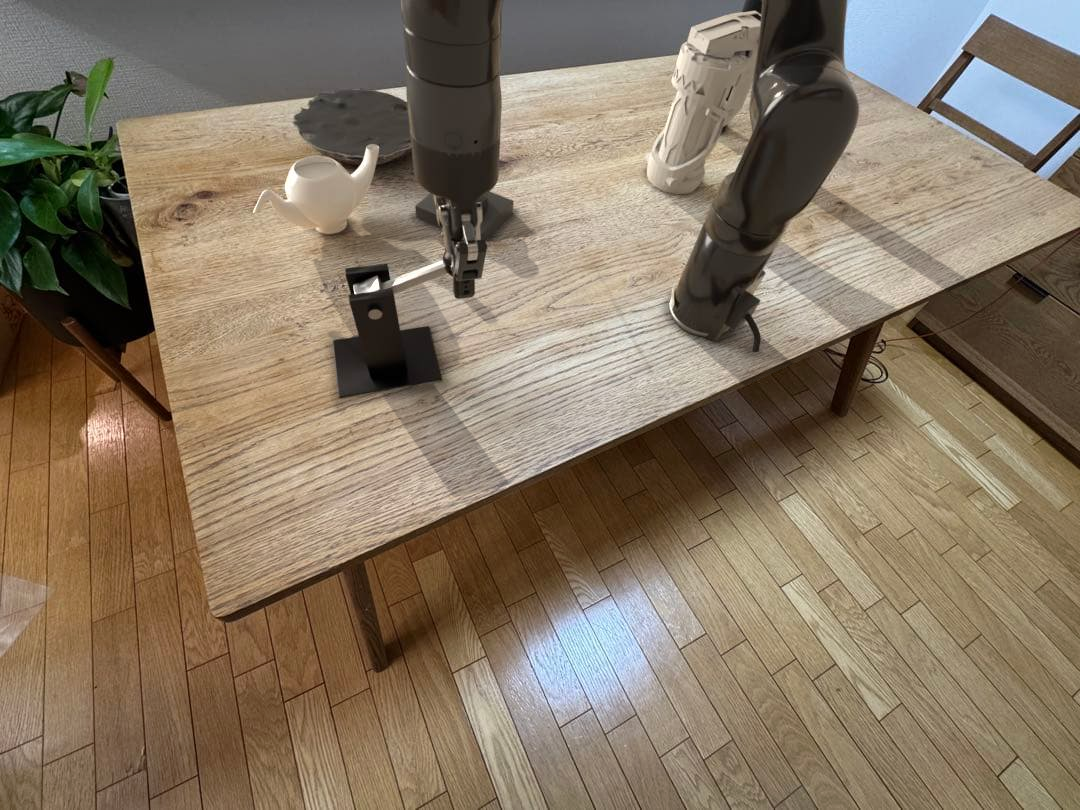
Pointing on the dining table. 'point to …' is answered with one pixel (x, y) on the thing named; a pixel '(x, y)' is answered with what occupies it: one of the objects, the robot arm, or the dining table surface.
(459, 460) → the dining table surface
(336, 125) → the board
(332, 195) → the teapot
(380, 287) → the lever
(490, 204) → the control block
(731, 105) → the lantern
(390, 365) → the bracket
